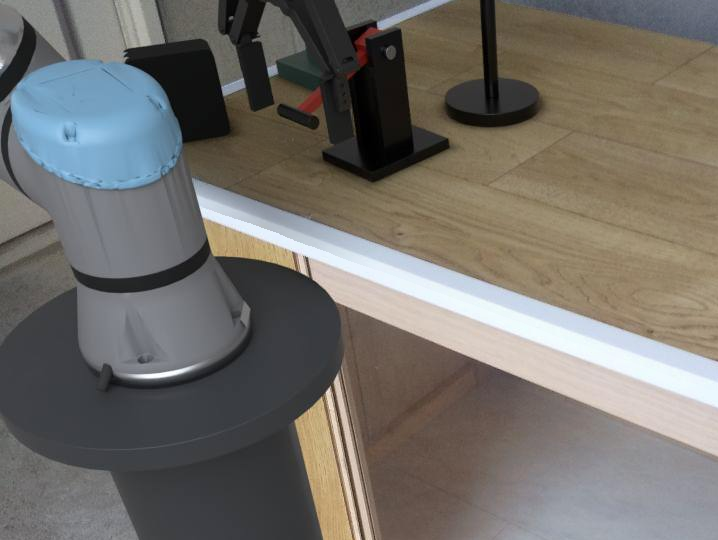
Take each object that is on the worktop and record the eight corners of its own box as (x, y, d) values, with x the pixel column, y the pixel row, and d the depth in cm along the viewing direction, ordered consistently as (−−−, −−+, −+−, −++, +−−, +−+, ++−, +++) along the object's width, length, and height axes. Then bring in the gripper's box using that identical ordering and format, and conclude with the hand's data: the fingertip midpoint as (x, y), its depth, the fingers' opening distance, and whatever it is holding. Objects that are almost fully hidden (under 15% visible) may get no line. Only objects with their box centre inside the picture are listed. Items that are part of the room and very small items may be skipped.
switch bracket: (373, 182, 111) (355, 53, 101) (322, 160, 115) (300, 34, 106) (449, 148, 117) (439, 23, 108) (398, 128, 122) (384, 6, 112)
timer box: (325, 95, 130) (319, 63, 127) (278, 77, 135) (272, 46, 132) (393, 69, 136) (389, 38, 133) (346, 53, 141) (341, 22, 138)
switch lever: (314, 136, 105) (304, 117, 102) (282, 123, 107) (272, 104, 105) (402, 54, 108) (394, 34, 106) (369, 43, 111) (360, 23, 109)
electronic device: (232, 134, 121) (212, 48, 114) (148, 148, 119) (122, 61, 112) (227, 122, 124) (207, 37, 117) (145, 135, 121) (119, 49, 114)
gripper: (376, -97, 87) (405, 142, 102) (211, -135, 99) (259, 84, 114) (309, -78, 83) (350, 167, 98) (146, -120, 95) (204, 105, 110)
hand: (301, 123), depth 106 cm, fingers open, 13 cm apart
